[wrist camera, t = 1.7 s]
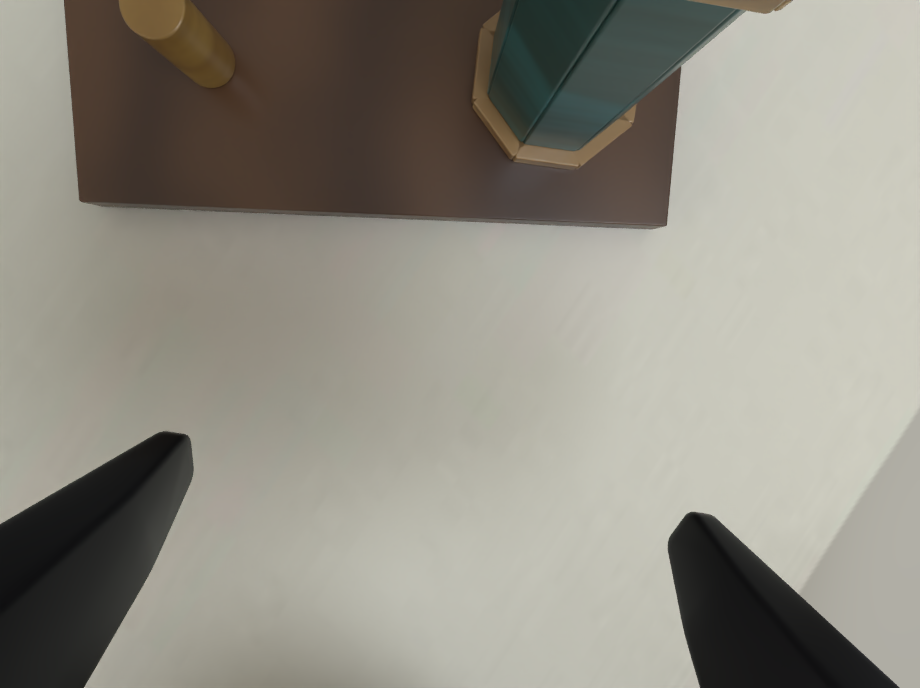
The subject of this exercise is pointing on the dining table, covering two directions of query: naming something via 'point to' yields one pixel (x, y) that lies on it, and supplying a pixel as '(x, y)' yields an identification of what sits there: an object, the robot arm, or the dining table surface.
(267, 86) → the spool stand
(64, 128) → the dining table surface
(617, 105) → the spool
